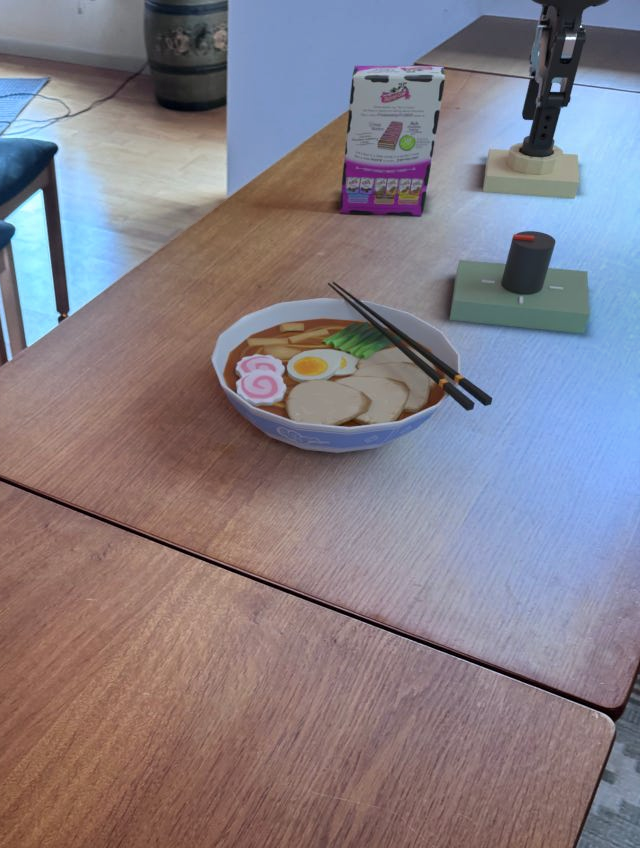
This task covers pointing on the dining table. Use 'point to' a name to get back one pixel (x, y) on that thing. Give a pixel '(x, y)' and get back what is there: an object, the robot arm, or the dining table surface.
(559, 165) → the housing
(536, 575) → the dining table surface
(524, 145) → the button
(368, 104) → the candy bar box
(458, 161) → the dining table surface
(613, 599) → the dining table surface
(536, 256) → the knob
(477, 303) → the panel
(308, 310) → the ramen bowl
